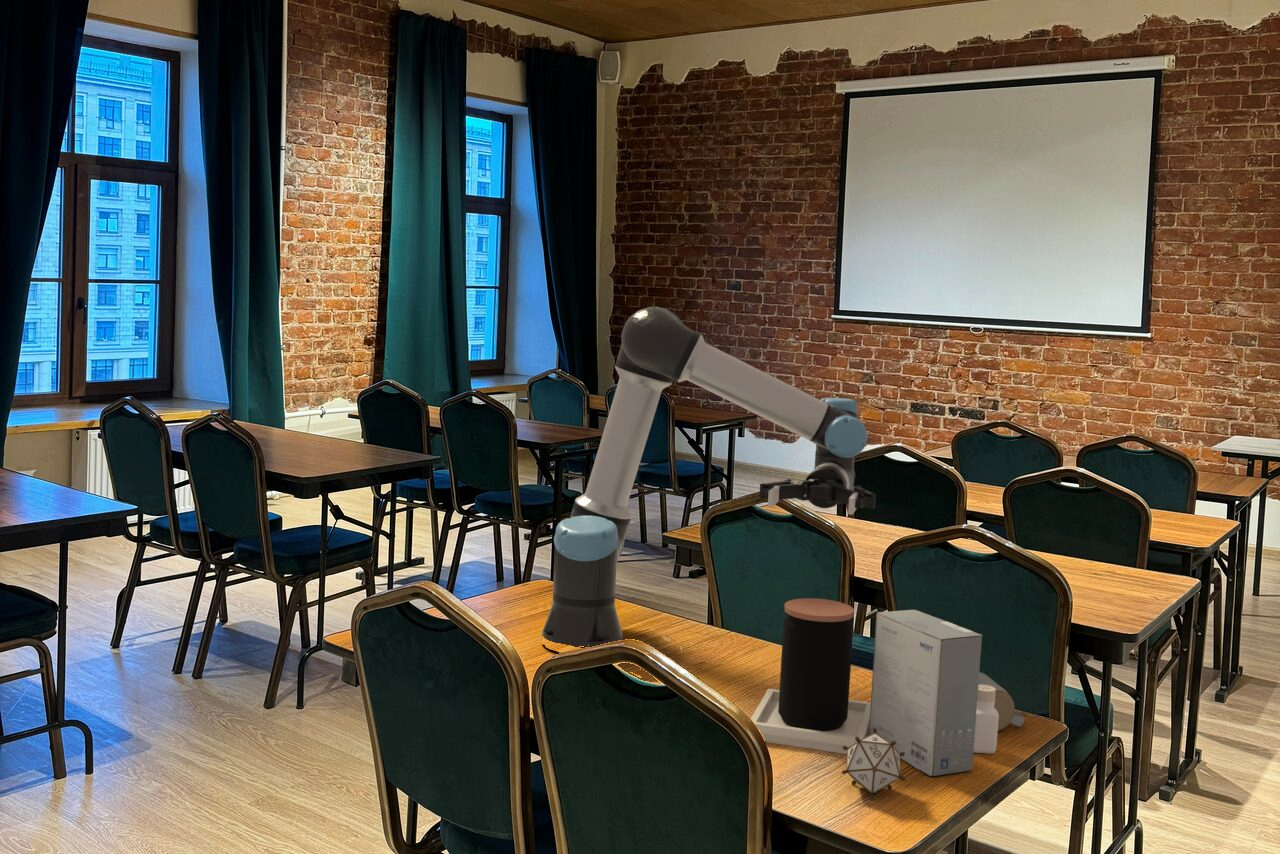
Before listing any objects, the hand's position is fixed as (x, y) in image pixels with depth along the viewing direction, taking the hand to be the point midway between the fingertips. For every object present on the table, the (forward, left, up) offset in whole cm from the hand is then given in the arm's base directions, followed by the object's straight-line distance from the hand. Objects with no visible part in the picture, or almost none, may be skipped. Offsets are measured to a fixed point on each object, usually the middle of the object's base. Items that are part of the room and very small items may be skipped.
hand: (810, 502), depth 196 cm
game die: (+16, -40, -32) cm, 54 cm away
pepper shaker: (+30, -18, -32) cm, 47 cm away
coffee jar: (+5, -19, -31) cm, 37 cm away
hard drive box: (+21, -24, -32) cm, 45 cm away
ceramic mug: (+31, -6, -32) cm, 45 cm away
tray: (+5, -19, -32) cm, 38 cm away
